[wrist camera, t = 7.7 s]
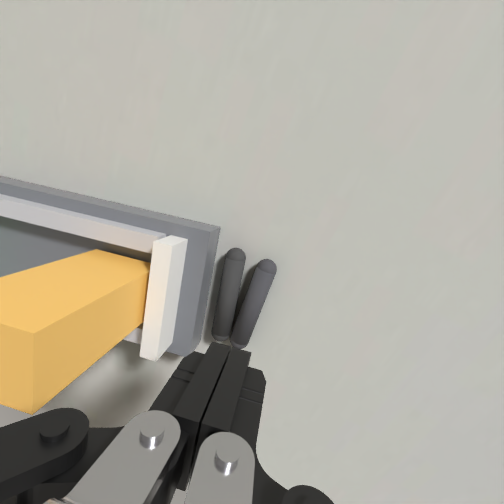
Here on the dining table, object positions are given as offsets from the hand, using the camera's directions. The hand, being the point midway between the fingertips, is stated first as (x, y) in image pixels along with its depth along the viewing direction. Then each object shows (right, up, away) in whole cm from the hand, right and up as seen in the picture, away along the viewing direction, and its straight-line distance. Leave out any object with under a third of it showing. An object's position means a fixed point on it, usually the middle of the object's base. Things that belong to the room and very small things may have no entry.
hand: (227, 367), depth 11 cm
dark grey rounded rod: (+1, +1, +8) cm, 8 cm away
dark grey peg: (0, +2, +8) cm, 8 cm away
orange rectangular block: (-6, +3, +7) cm, 10 cm away
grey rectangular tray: (-10, +4, +9) cm, 14 cm away
